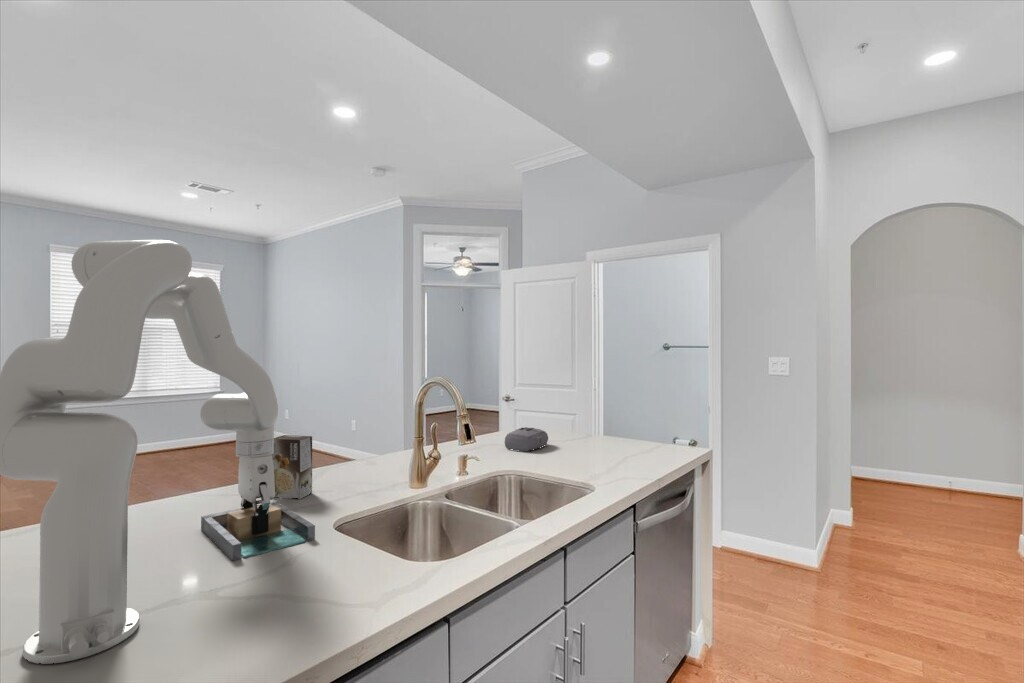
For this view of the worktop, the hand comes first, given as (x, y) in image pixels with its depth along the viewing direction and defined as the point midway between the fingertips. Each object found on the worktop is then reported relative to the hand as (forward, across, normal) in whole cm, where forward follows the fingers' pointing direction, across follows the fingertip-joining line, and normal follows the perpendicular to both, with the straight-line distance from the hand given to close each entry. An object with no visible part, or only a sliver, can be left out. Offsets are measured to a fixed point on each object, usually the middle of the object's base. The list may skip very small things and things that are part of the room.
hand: (254, 528), depth 113 cm
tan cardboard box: (+1, 0, 0) cm, 1 cm away
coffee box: (+1, +23, -17) cm, 29 cm away
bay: (+1, -2, 0) cm, 2 cm away
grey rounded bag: (+1, +26, -114) cm, 117 cm away
